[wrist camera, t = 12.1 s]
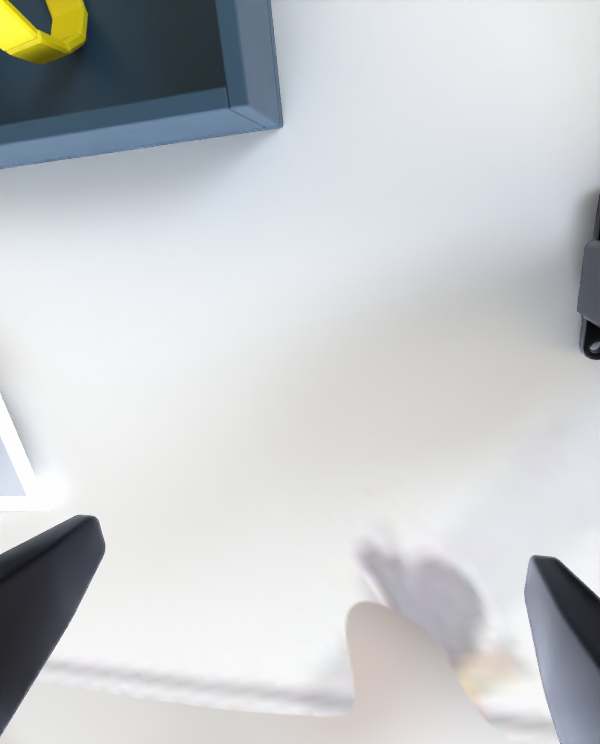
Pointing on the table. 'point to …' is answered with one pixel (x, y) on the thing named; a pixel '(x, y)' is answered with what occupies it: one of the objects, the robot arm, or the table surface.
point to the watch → (24, 41)
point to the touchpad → (16, 471)
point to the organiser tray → (141, 79)
